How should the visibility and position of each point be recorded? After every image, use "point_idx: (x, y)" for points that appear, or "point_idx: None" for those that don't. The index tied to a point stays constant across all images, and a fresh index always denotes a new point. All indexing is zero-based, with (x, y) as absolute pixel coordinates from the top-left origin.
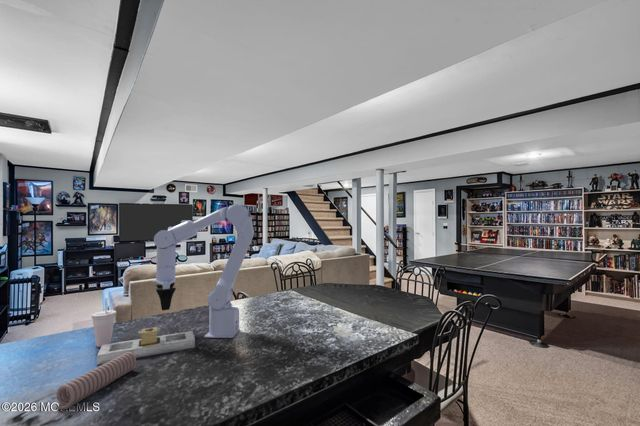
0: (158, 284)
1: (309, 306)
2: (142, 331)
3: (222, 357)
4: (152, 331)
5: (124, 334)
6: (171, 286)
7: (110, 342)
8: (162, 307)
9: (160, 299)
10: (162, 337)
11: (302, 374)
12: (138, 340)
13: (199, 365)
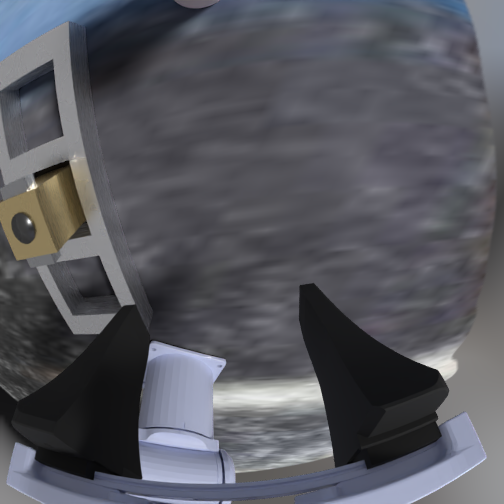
0: (420, 406)
1: (309, 454)
2: (8, 203)
3: (40, 352)
4: (10, 244)
5: (322, 42)
6: (335, 446)
7: (195, 7)
8: (116, 321)
9: (75, 363)
10: (87, 245)
11: (21, 398)
12: (69, 155)
13: (6, 316)
